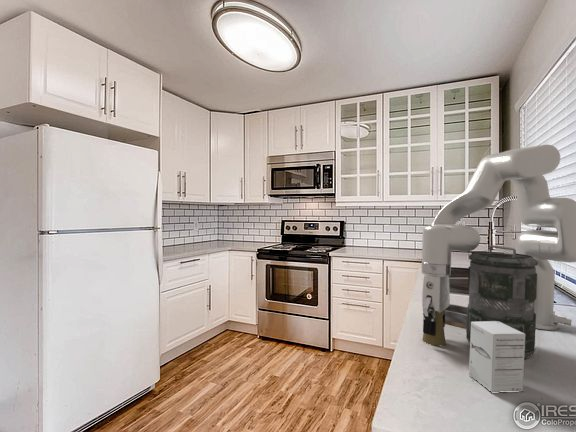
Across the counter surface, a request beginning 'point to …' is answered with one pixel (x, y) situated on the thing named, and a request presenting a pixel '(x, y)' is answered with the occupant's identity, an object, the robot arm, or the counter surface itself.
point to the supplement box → (497, 356)
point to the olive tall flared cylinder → (440, 336)
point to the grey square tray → (456, 315)
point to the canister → (503, 292)
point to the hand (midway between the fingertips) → (434, 329)
